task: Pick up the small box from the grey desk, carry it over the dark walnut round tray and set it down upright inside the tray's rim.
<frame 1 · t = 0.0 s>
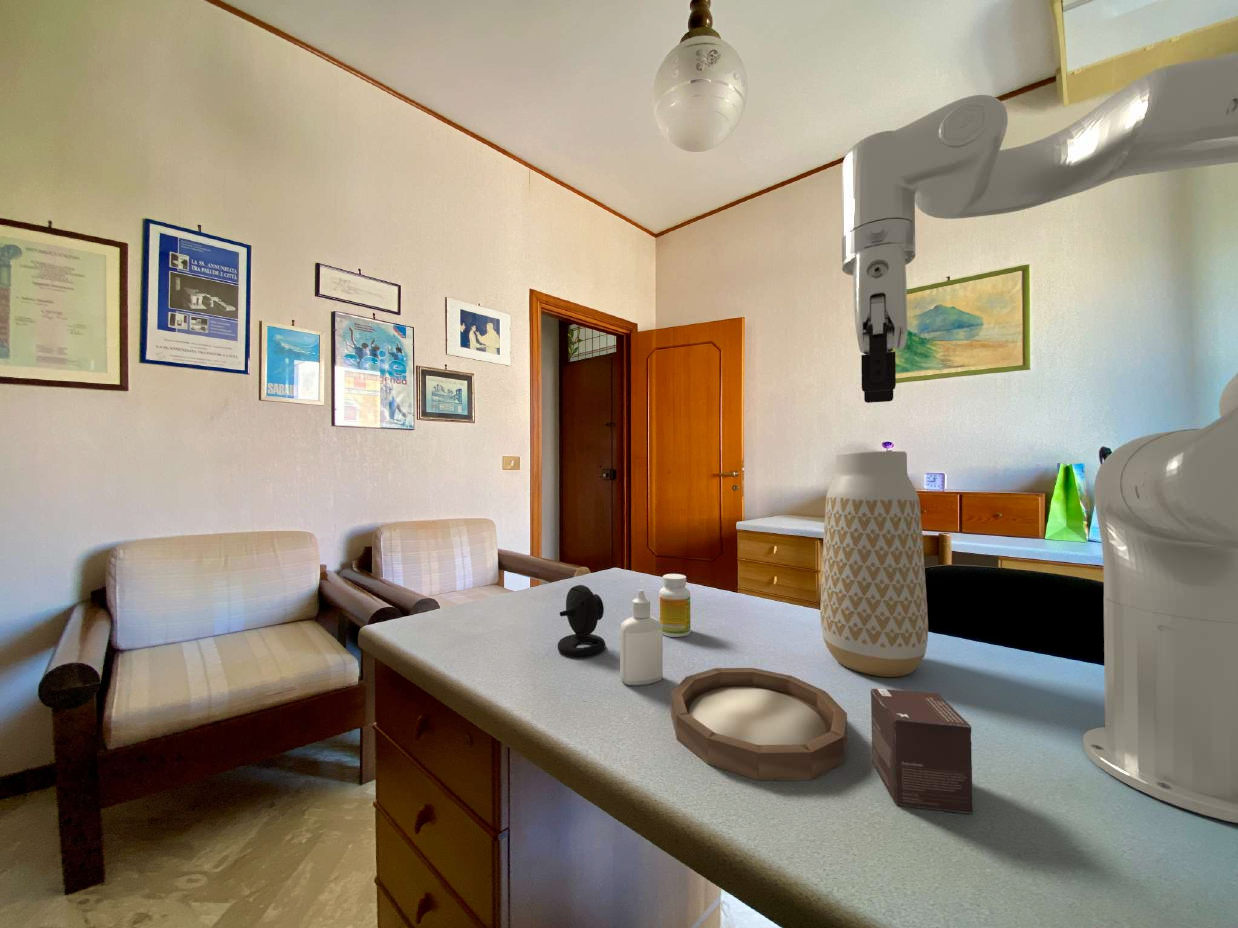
hand: (878, 396, 55), 37 cm above the table, tool pointing down, fingers open, 9 cm apart
webcam: (581, 650, 74), on the table
box: (918, 789, 42), on the table
round tray: (755, 725, 52), on the table
vase: (871, 664, 68), on the table
supplement bottle: (674, 633, 81), on the table
eye dropper bottle: (641, 681, 63), on the table
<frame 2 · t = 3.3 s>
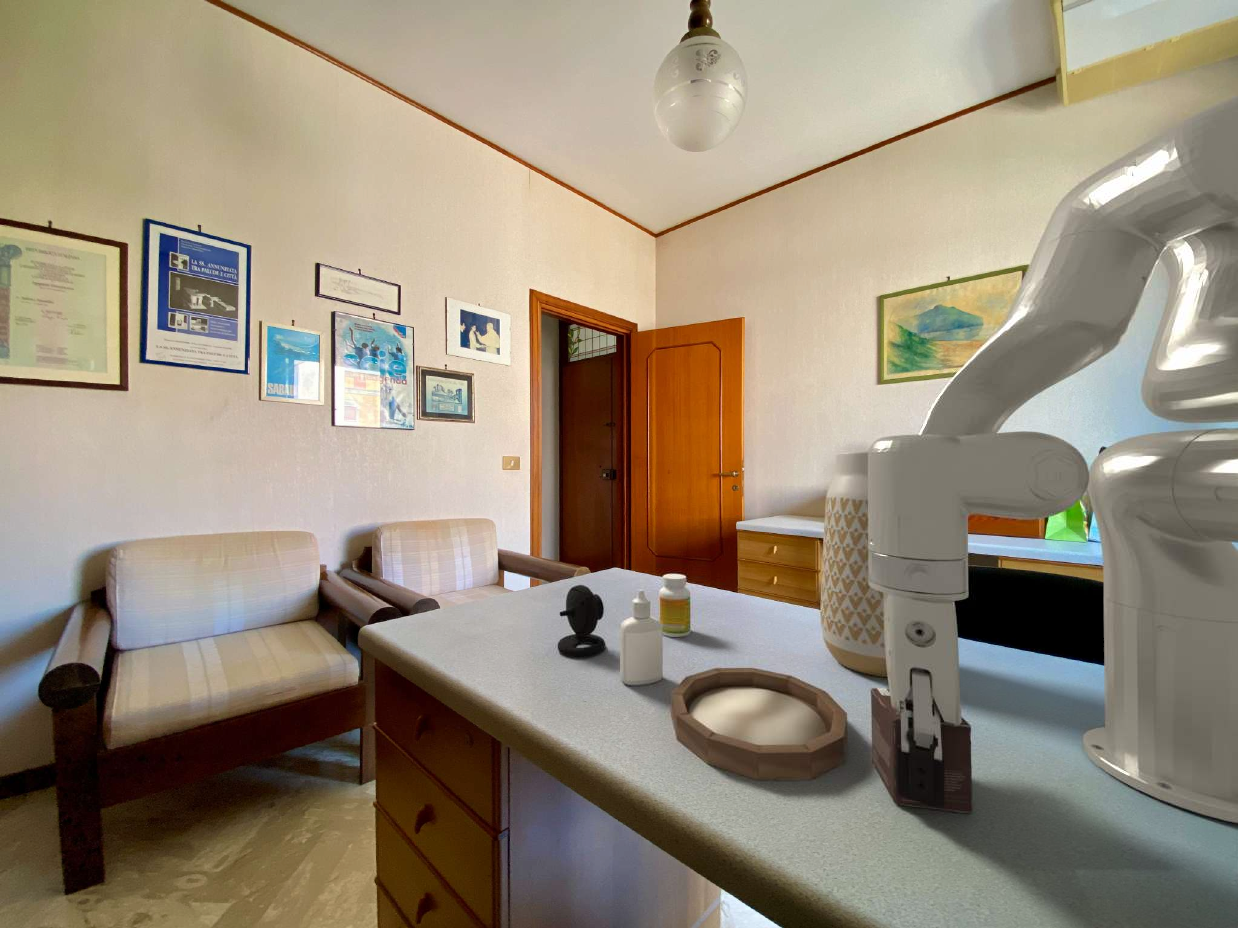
hand: (917, 770, 42), 1 cm above the table, tool pointing down, fingers closed on box, 7 cm apart
box: (917, 789, 42), on the table, touching gripper
everything else where it was.
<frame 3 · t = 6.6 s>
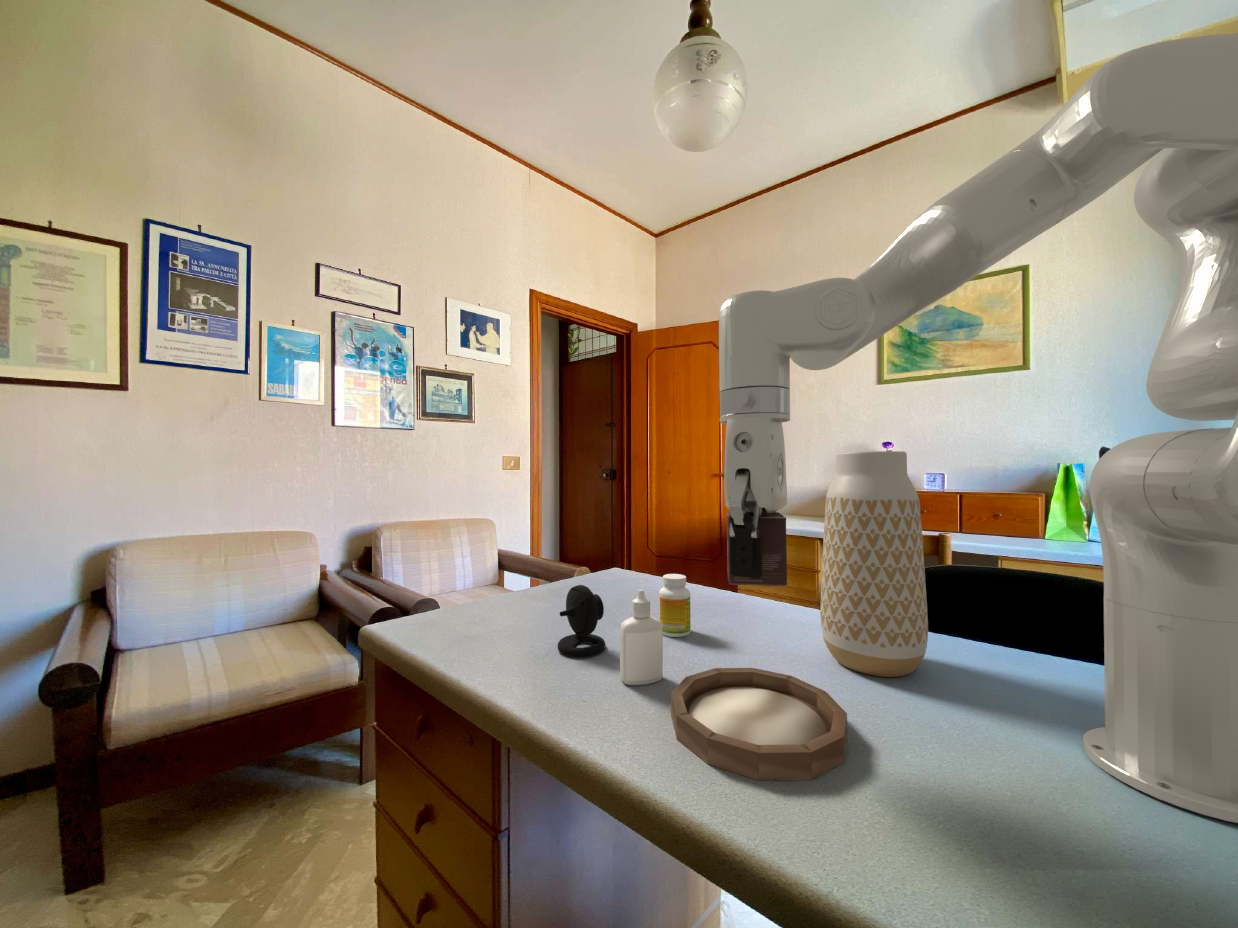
hand: (755, 567, 52), 17 cm above the table, tool pointing down, fingers closed on box, 7 cm apart
box: (755, 582, 52), point 16 cm above the table, touching gripper
everything else where it was.
when the fingers open (4 cm above the table, at t = 10.0 s): box drops 1 cm, resting on round tray.
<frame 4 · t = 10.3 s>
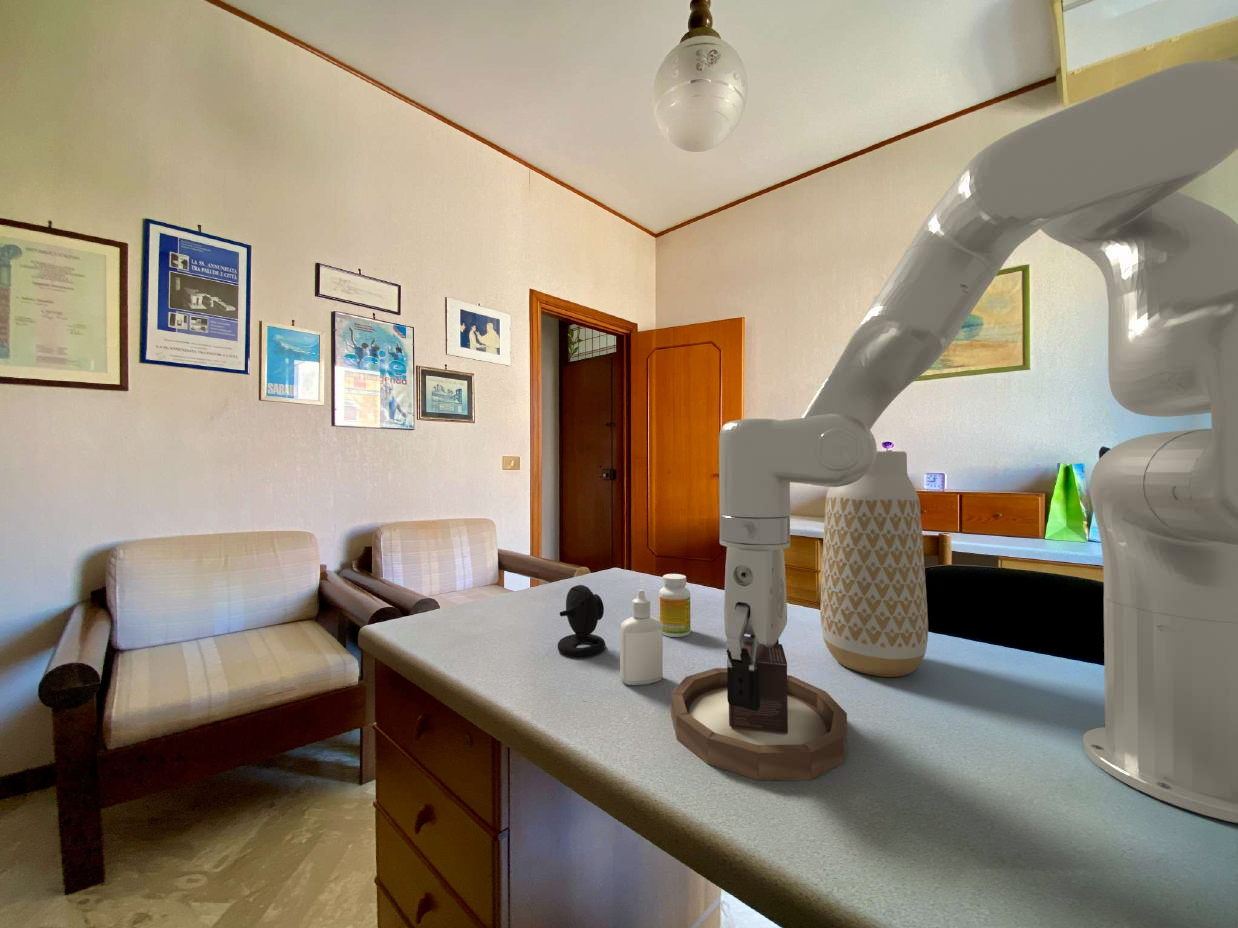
hand: (754, 686, 52), 4 cm above the table, tool pointing down, fingers open, 9 cm apart
box: (756, 719, 52), point 1 cm above the table, touching round tray
everything else where it was.
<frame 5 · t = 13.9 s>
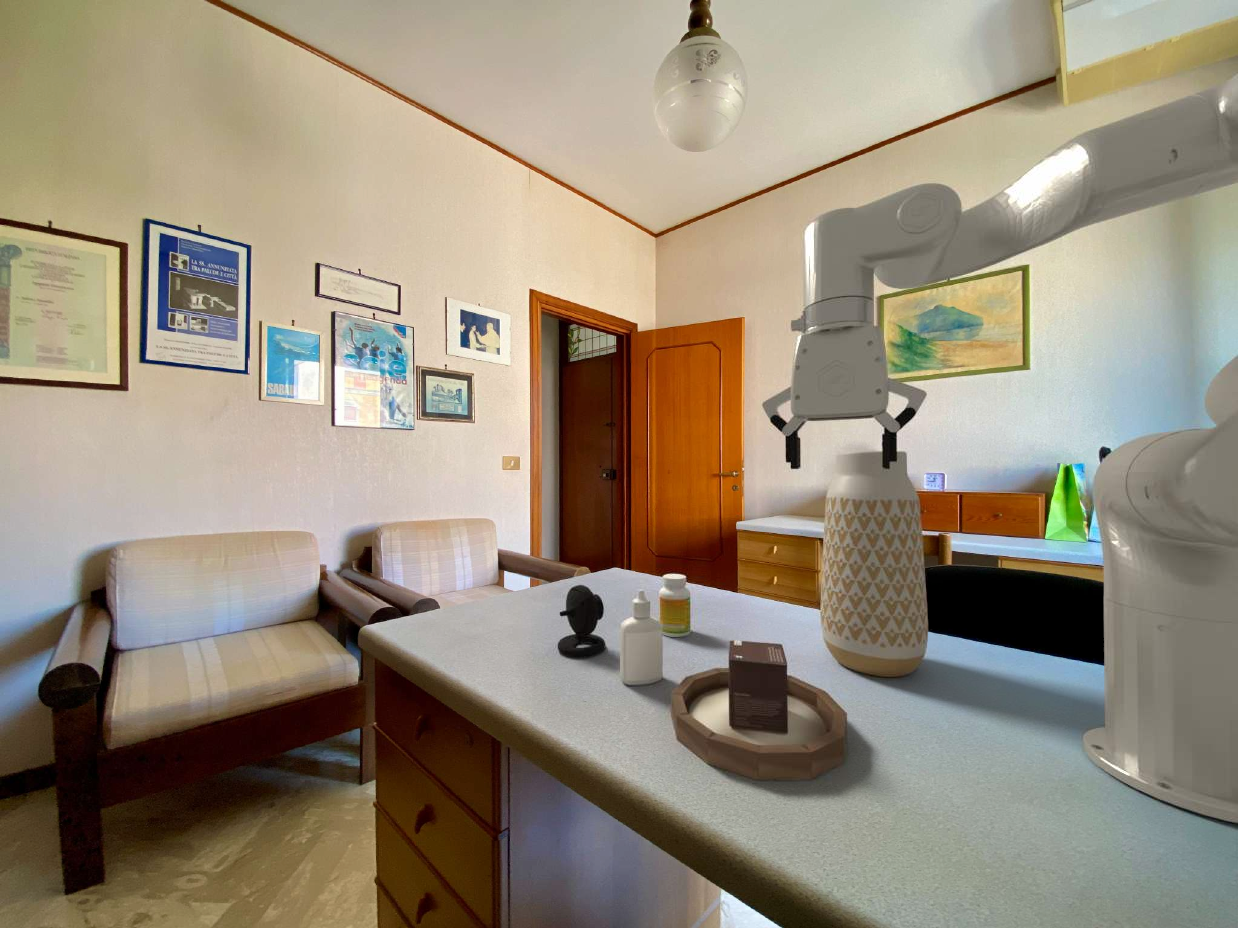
hand: (838, 468, 55), 28 cm above the table, tool pointing down, fingers open, 9 cm apart
nothing on the table moved.
at the end: box inside the target area on the round tray (0.2 cm from its centre), point 0.7 cm above the round tray's base; box tilted 0°; the gripper is holding nothing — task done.
